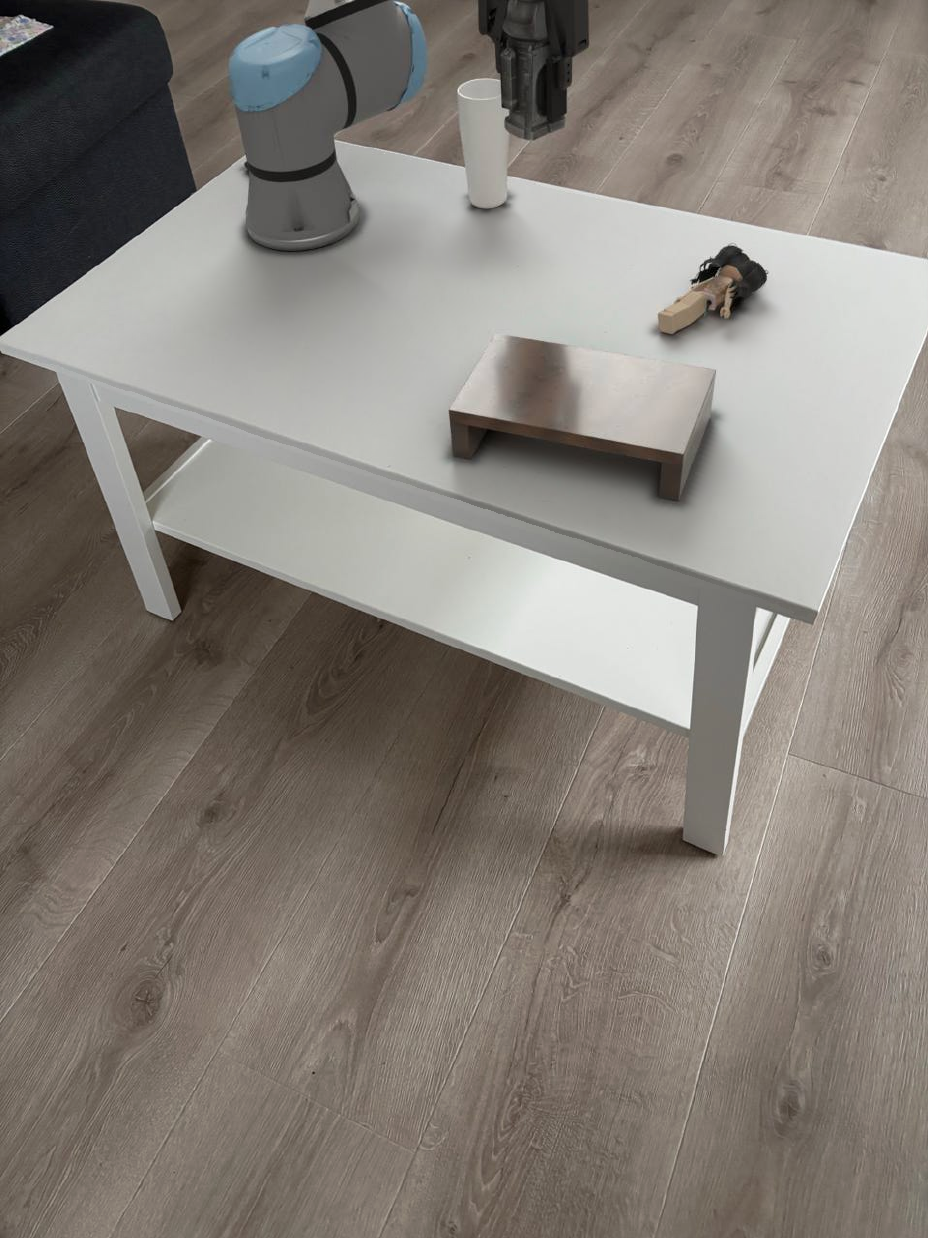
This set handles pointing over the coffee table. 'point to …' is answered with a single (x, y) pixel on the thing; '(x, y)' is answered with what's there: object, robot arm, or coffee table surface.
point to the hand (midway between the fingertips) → (533, 109)
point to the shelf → (587, 403)
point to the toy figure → (715, 289)
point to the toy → (526, 71)
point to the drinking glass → (484, 141)
